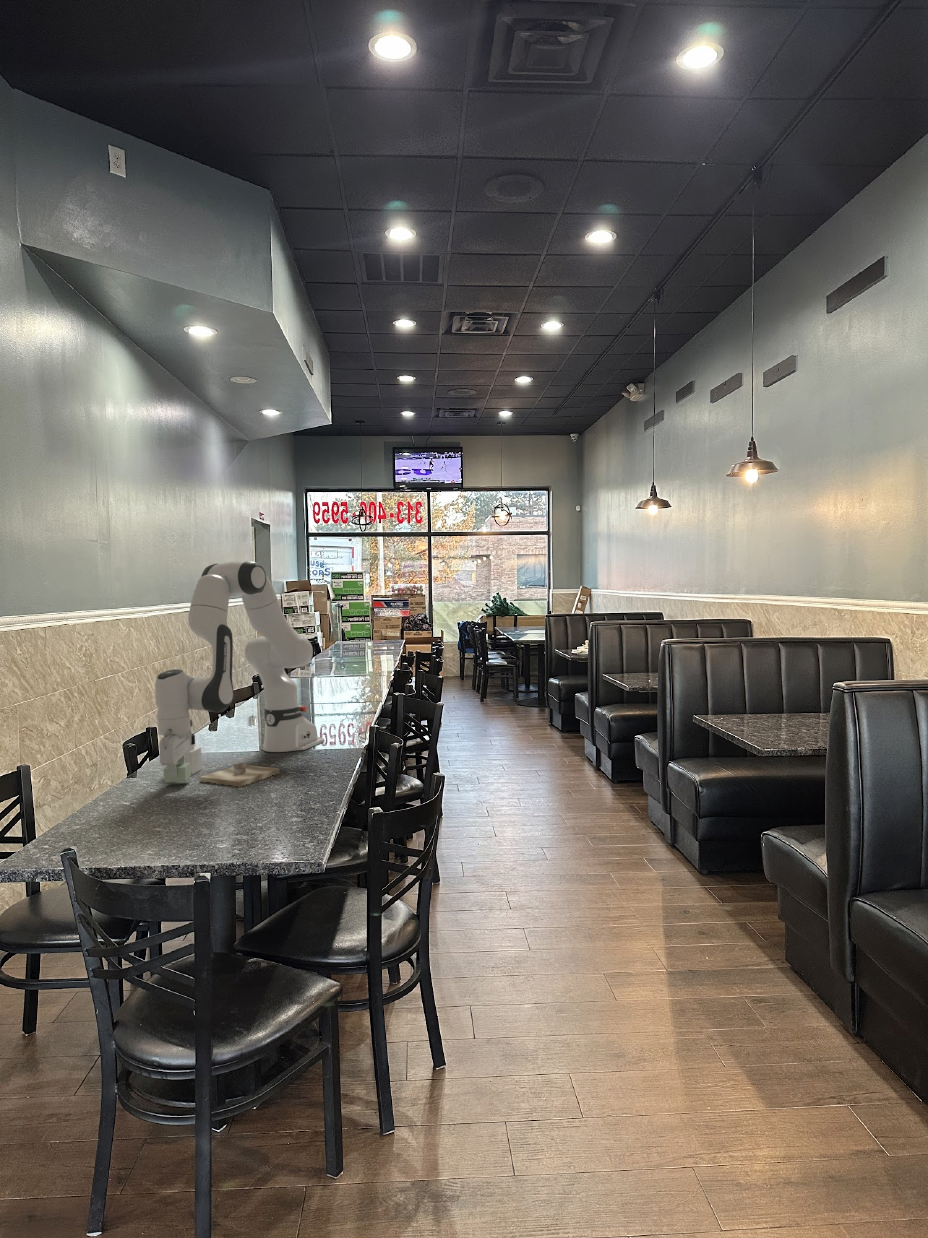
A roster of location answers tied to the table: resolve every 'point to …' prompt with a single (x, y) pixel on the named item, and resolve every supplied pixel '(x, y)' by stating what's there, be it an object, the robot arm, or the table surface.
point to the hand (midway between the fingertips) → (177, 773)
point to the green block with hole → (183, 773)
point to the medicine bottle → (194, 756)
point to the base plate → (239, 774)
